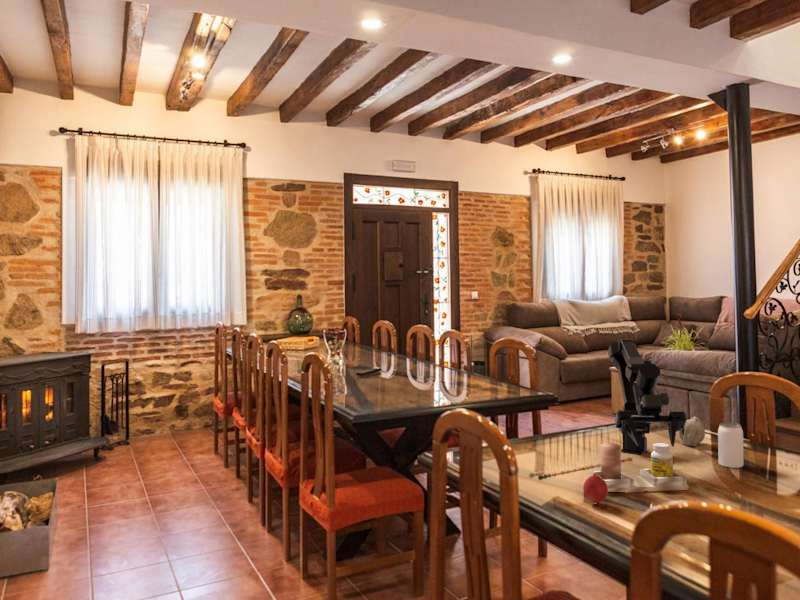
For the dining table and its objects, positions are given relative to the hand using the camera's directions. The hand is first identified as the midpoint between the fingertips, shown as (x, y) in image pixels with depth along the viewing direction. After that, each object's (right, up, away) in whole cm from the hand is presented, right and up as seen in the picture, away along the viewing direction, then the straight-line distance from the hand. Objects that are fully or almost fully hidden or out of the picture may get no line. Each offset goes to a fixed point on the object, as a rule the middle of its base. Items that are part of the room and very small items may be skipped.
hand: (655, 445), depth 170 cm
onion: (-23, -10, -19) cm, 32 cm away
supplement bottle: (-1, -8, -6) cm, 10 cm away
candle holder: (-8, -9, -7) cm, 14 cm away
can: (+26, -8, +9) cm, 29 cm away
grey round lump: (+26, -8, +33) cm, 42 cm away
